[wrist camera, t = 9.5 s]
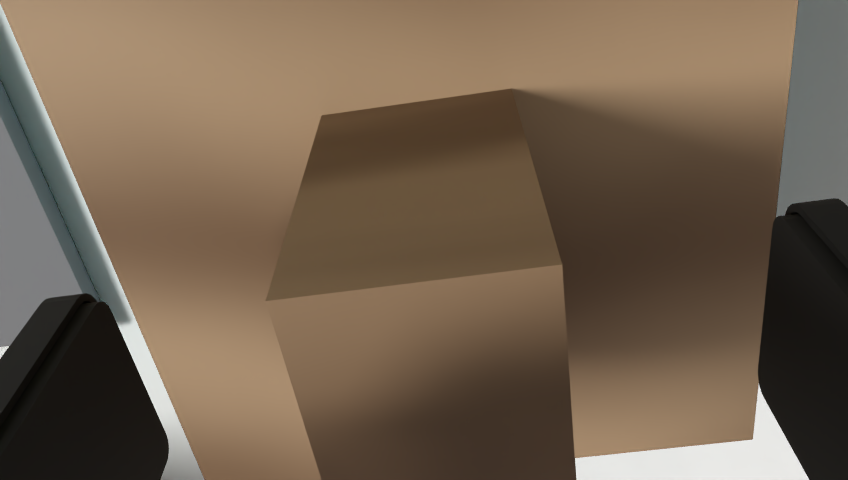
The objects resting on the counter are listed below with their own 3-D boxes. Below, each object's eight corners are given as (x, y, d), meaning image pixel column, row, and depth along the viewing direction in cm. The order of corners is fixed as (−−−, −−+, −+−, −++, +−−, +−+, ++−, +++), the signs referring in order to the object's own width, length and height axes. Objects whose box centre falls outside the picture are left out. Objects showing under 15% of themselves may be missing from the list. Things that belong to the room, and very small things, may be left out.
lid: (7, -71, 12) (-328, 50, 6) (787, -200, 11) (1125, -181, 6) (222, 460, 17) (137, 746, 12) (735, 404, 17) (876, 687, 11)
